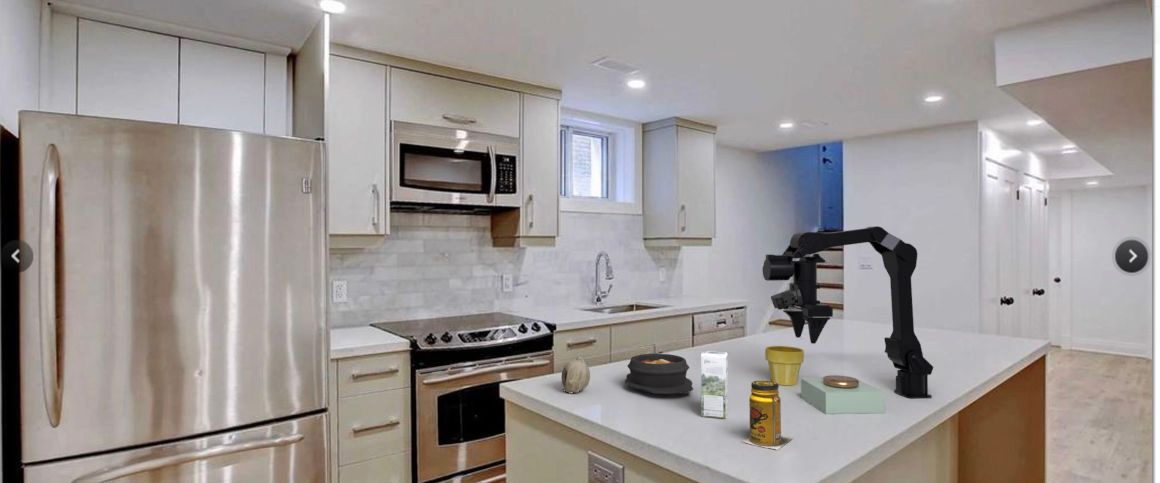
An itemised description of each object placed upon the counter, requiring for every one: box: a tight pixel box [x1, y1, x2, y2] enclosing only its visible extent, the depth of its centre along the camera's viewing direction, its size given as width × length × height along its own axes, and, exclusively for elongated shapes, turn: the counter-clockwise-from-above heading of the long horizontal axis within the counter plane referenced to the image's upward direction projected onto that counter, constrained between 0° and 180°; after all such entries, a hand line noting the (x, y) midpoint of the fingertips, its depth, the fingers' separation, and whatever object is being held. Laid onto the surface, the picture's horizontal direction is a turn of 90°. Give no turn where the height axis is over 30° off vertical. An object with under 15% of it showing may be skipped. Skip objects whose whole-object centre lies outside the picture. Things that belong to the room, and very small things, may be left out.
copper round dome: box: [822, 374, 860, 388], centre depth 143 cm, size 8×8×5 cm
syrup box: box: [700, 350, 729, 419], centre depth 135 cm, size 6×6×14 cm
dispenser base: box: [800, 377, 886, 415], centre depth 143 cm, size 14×14×5 cm
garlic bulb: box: [561, 356, 591, 394], centre depth 158 cm, size 9×8×10 cm
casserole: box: [624, 353, 694, 395], centre depth 160 cm, size 25×19×8 cm
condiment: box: [742, 379, 793, 451], centre depth 118 cm, size 7×8×12 cm
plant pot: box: [765, 345, 805, 387], centre depth 165 cm, size 10×10×10 cm
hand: (805, 340), depth 150 cm, fingers open, 9 cm apart
